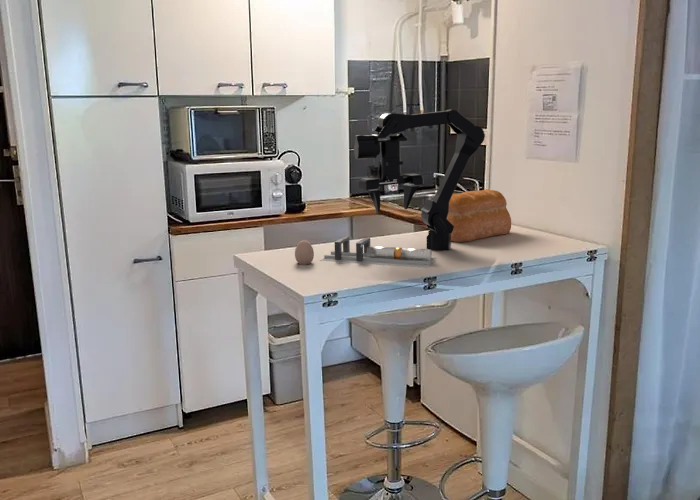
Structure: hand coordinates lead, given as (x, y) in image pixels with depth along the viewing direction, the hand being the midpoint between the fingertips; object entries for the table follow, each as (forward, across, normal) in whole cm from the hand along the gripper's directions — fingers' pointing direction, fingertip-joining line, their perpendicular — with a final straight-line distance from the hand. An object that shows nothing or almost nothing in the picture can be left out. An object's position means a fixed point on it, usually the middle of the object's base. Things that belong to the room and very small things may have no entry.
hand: (392, 210), depth 194 cm
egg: (+13, +28, 0) cm, 31 cm away
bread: (+14, -37, -11) cm, 41 cm away
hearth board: (+13, +8, +6) cm, 17 cm away
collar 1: (+12, +16, -2) cm, 20 cm away
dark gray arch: (+12, +11, +3) cm, 17 cm away
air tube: (+12, +4, +10) cm, 17 cm away
